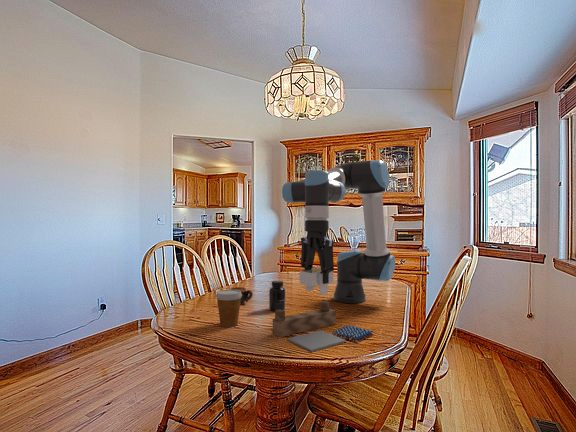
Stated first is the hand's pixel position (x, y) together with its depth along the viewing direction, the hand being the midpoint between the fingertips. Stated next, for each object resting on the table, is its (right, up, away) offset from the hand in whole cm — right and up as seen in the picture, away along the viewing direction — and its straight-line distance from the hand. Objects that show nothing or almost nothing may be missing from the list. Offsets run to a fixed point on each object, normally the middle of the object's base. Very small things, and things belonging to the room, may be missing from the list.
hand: (316, 291), depth 114 cm
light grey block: (0, +3, 0) cm, 3 cm away
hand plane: (-3, -16, +13) cm, 20 cm away
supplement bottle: (-14, -16, +38) cm, 44 cm away
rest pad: (0, -16, 0) cm, 16 cm away
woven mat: (+13, -16, +6) cm, 22 cm away
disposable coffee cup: (-31, -16, +17) cm, 39 cm away
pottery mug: (-31, -16, +50) cm, 60 cm away
